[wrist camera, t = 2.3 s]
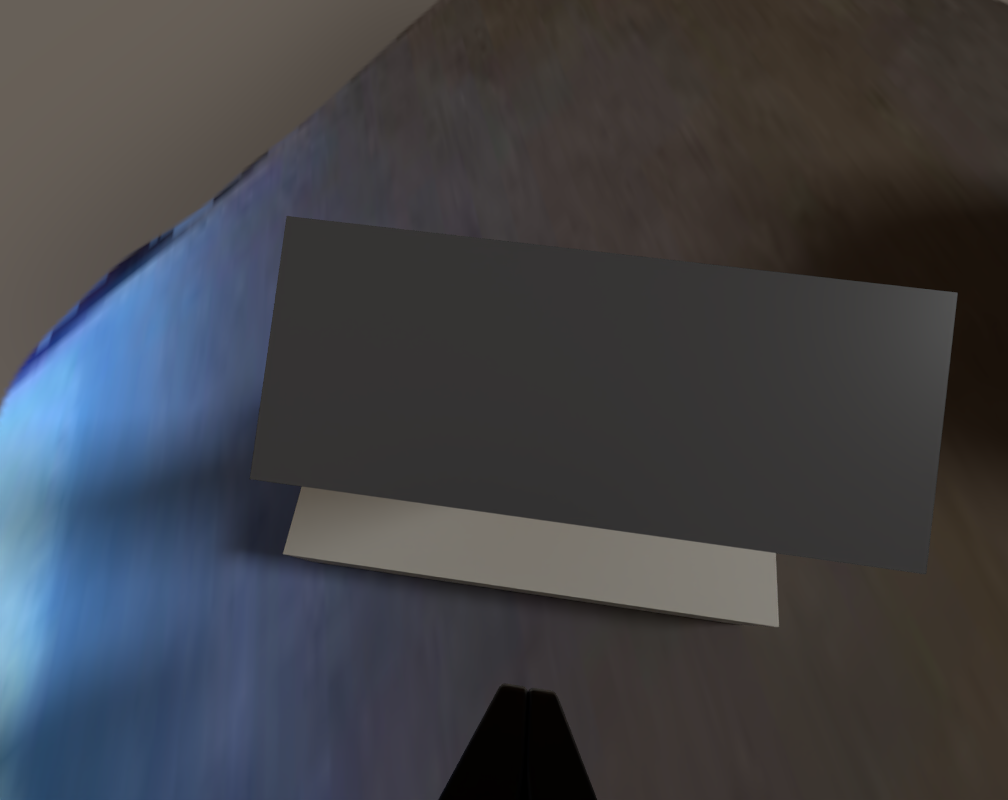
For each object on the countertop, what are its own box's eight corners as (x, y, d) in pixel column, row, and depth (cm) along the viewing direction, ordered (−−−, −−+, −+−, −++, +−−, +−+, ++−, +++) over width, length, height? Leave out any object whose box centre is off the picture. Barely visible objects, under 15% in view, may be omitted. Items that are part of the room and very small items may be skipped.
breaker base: (741, 624, 17) (835, 630, 12) (311, 561, 18) (239, 542, 13) (735, 322, 21) (804, 236, 16) (384, 281, 22) (350, 186, 17)
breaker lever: (657, 459, 16) (1033, 588, 4) (429, 429, 17) (155, 466, 4) (666, 387, 16) (1063, 305, 4) (439, 358, 17) (194, 205, 5)
